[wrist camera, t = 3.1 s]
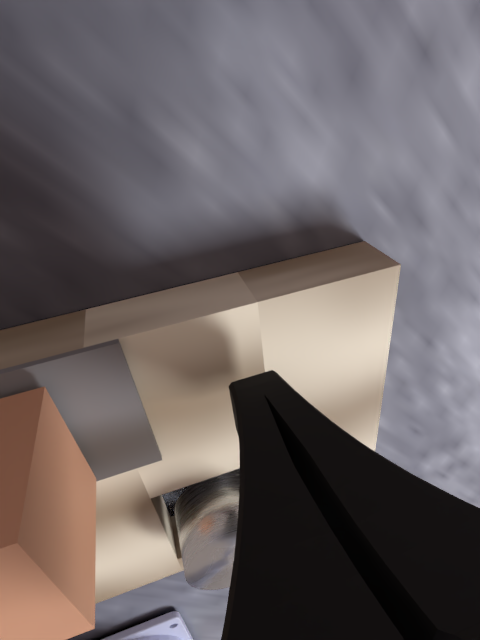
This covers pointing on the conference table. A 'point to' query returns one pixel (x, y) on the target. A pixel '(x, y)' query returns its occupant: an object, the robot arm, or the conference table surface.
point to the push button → (209, 530)
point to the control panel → (201, 383)
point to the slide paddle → (44, 523)
